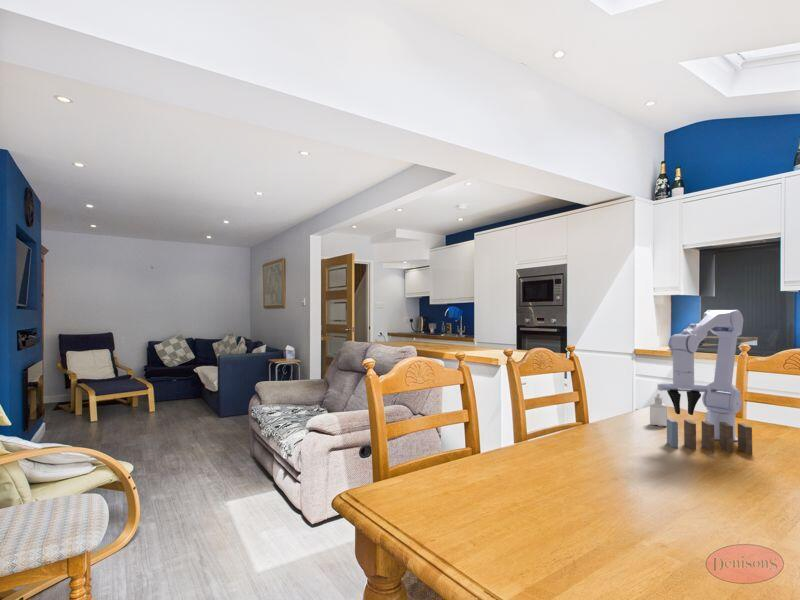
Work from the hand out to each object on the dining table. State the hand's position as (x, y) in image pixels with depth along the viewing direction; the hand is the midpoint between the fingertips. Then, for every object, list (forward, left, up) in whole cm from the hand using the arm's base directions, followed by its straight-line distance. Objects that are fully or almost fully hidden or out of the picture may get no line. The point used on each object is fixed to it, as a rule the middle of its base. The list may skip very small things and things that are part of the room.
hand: (684, 413), depth 138 cm
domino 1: (0, -3, -10) cm, 11 cm away
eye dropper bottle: (-27, +1, -11) cm, 29 cm away
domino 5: (0, +17, -10) cm, 20 cm away
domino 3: (0, +7, -10) cm, 12 cm away
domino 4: (0, +12, -10) cm, 16 cm away
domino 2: (0, +2, -10) cm, 10 cm away
